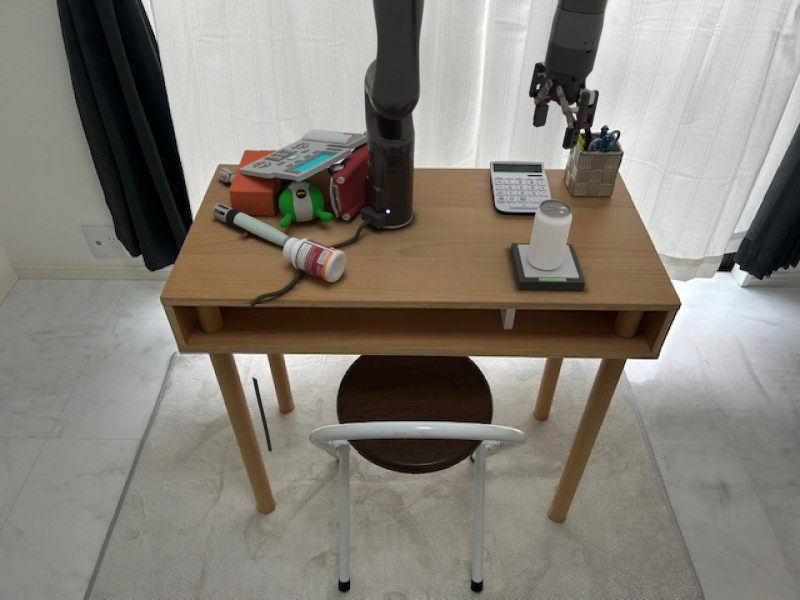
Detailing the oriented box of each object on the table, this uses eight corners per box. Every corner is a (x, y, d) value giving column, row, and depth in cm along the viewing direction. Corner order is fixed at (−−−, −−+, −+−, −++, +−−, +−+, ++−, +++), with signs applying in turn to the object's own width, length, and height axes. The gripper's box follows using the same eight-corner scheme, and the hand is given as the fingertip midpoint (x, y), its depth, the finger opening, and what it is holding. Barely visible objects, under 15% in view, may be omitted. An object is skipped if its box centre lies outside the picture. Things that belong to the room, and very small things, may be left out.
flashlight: (284, 258, 123) (212, 223, 130) (296, 240, 124) (224, 207, 132) (278, 250, 120) (204, 215, 128) (290, 232, 121) (216, 198, 129)
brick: (228, 190, 127) (232, 215, 131) (272, 191, 127) (275, 216, 131) (244, 149, 141) (248, 172, 145) (284, 150, 141) (286, 173, 145)
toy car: (319, 173, 124) (363, 179, 121) (371, 123, 142) (412, 127, 138) (327, 220, 131) (369, 227, 127) (376, 166, 149) (415, 171, 145)
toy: (319, 170, 136) (328, 183, 122) (324, 208, 139) (333, 224, 125) (269, 177, 134) (273, 190, 120) (275, 214, 137) (280, 231, 123)
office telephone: (317, 123, 144) (376, 128, 130) (321, 134, 145) (379, 140, 132) (236, 163, 131) (292, 172, 118) (240, 174, 133) (296, 185, 119)
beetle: (249, 170, 140) (250, 181, 142) (222, 162, 141) (224, 174, 144) (240, 179, 137) (242, 191, 140) (213, 172, 139) (215, 183, 141)
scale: (518, 289, 115) (520, 279, 113) (510, 250, 124) (511, 241, 122) (582, 290, 115) (585, 280, 113) (569, 251, 124) (572, 242, 122)
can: (561, 273, 115) (574, 220, 107) (526, 269, 115) (536, 215, 108) (561, 253, 119) (573, 200, 111) (527, 248, 120) (537, 195, 112)
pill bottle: (346, 275, 118) (300, 256, 122) (348, 246, 114) (300, 228, 119) (327, 288, 113) (279, 269, 117) (329, 259, 110) (280, 240, 114)
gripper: (527, 26, 98) (511, 122, 108) (583, 57, 88) (560, 160, 99) (566, 21, 100) (547, 116, 111) (624, 51, 90) (597, 151, 101)
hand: (553, 136), depth 105 cm, fingers open, 8 cm apart
